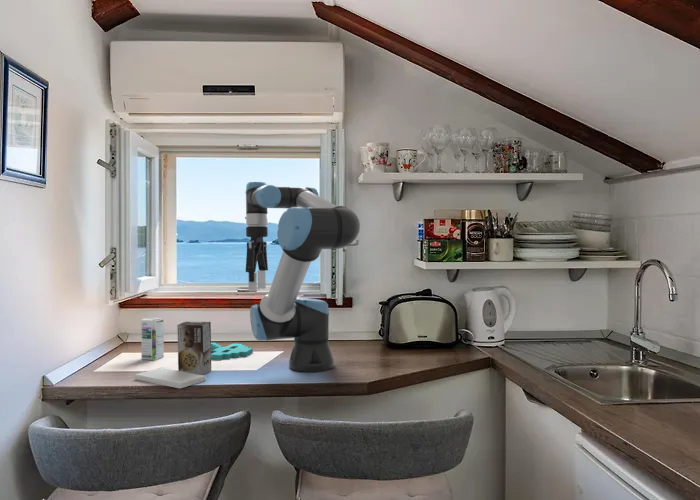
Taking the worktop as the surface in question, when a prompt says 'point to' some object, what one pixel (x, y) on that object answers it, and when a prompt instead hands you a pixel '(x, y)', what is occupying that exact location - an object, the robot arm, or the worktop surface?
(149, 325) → the syrup box
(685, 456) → the worktop surface
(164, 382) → the board
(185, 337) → the coffee box
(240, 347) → the alien figure
